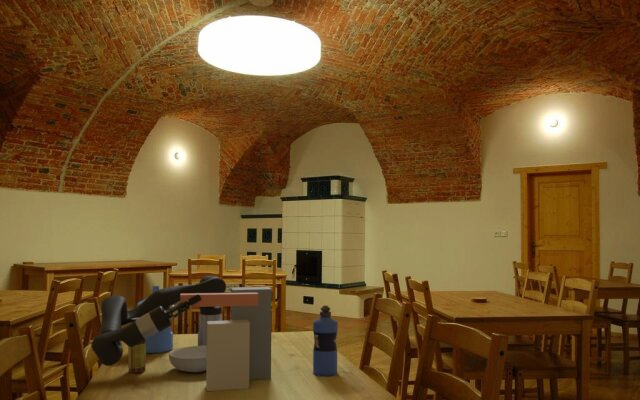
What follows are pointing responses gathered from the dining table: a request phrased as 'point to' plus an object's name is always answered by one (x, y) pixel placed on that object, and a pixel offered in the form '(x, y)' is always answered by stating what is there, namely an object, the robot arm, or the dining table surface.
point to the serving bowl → (189, 358)
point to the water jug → (159, 337)
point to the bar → (222, 299)
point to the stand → (240, 344)
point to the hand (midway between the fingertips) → (199, 295)
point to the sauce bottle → (137, 356)
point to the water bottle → (325, 344)
